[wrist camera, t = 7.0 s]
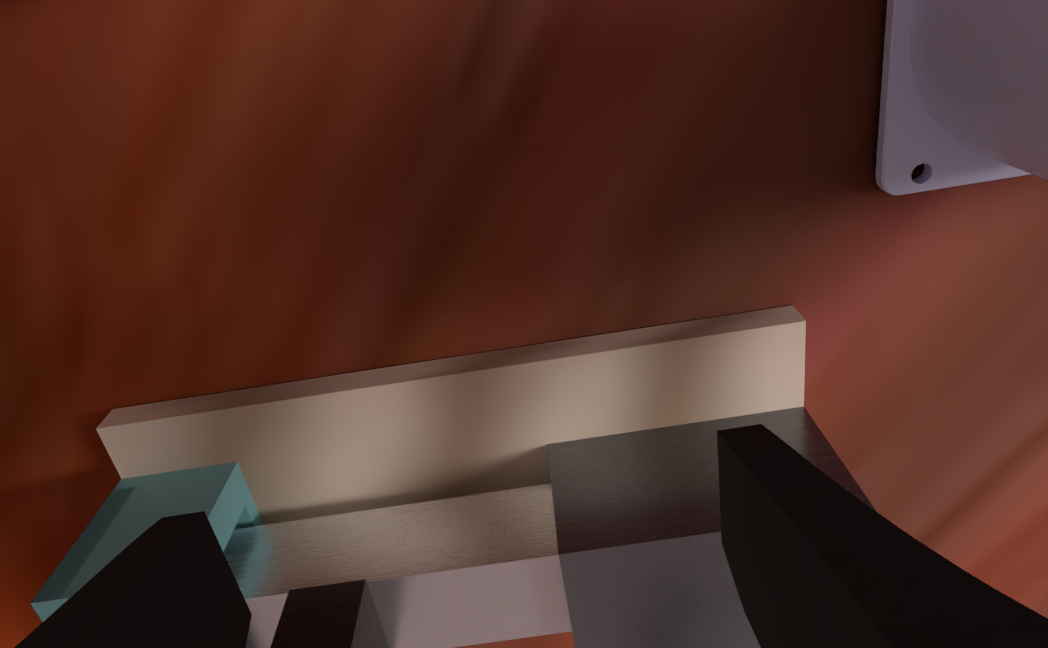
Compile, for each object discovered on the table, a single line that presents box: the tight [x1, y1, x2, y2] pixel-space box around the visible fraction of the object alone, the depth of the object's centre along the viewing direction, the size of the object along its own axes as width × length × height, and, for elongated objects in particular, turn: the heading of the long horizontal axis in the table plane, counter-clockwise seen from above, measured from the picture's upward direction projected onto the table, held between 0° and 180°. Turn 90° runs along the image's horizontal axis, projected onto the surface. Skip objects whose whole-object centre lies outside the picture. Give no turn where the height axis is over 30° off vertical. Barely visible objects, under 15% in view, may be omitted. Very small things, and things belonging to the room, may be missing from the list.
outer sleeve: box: [547, 406, 875, 648], centre depth 20 cm, size 8×4×4 cm, turn 99°
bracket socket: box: [30, 462, 264, 622], centre depth 20 cm, size 4×6×5 cm, turn 9°
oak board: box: [96, 305, 806, 525], centre depth 23 cm, size 20×10×1 cm, turn 99°
